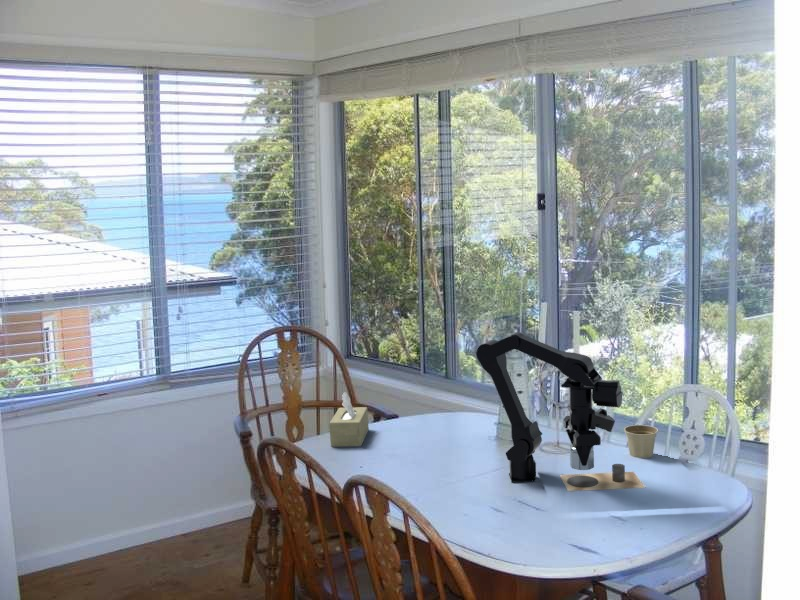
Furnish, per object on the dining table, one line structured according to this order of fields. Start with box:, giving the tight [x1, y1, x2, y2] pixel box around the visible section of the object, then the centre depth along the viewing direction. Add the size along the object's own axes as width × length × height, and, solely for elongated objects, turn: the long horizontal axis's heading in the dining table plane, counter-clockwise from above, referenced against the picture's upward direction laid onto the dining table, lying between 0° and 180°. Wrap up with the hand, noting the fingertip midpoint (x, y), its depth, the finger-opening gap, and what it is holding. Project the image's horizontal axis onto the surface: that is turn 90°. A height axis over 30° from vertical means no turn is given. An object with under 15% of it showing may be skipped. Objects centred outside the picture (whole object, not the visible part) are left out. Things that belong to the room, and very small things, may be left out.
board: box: [559, 463, 646, 492], centre depth 220 cm, size 20×12×5 cm, turn 89°
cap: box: [569, 444, 595, 471], centre depth 220 cm, size 6×6×6 cm
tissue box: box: [328, 391, 369, 448], centre depth 274 cm, size 19×10×16 cm, turn 174°
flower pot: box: [623, 424, 659, 459], centre depth 240 cm, size 9×9×9 cm
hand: (581, 461), depth 220 cm, fingers closed on cap, 6 cm apart
